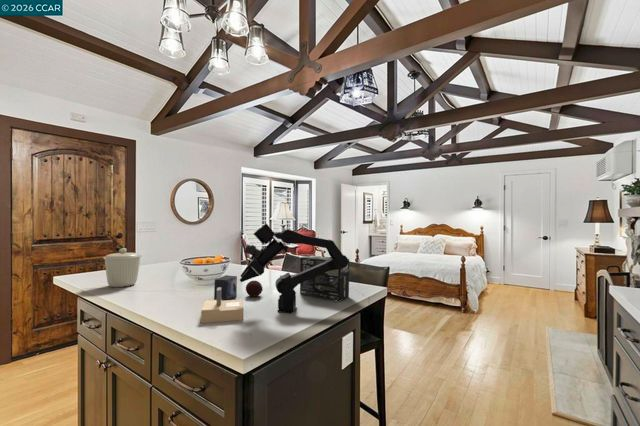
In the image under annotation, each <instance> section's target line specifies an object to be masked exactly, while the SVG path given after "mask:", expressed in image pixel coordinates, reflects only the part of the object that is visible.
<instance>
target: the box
mask: <svg viewBox="0 0 640 426" xmlns="http://www.w3.org/2000/svg"><path fill="white" fill-rule="evenodd" d="M329 257H330V256H320V255H312V254H311V255H306V256H302V257H300V269H299V270H300V272H302V271H304V270H307V269H309V268H311V267H314V266H316V265H318V264H321V263H323V262H325V261H326V260H327V259H328V258H329ZM347 259H348V264H347V266H346V267H345V268H342V269H338V270H331V271H327V272H325V273H323V274H321V275H318V276H316V277H314V278H311V279H309V280H307V281H305V282H302V283H300V284H299V295H302V296H307V297H314V298H320V299H325V300H329V299H331V300H330V301H334V300H337V301H336V302H341V301H343V300H345V299H348V298H349V296H350V293H349V291H350V259H349V258H347ZM300 272H299V273H300ZM342 299H343V300H342ZM340 300H341V301H340Z"/></svg>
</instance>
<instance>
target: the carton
mask: <svg viewBox="0 0 640 426" xmlns="http://www.w3.org/2000/svg"><path fill="white" fill-rule="evenodd" d="M231 321H233V322H234V321H244V300H243V299H232V300H225V301H222V302H221V307H220V310H217V311H203V312H201V311H200V323H201V324H206V323H207V324H208V323H220V322H221V323H222V322H231Z"/></svg>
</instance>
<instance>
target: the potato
mask: <svg viewBox="0 0 640 426" xmlns="http://www.w3.org/2000/svg"><path fill="white" fill-rule="evenodd" d="M245 291H246V293H247V295H248V296H250V297H258V296H260V295H261V294H262V292H263V286H262V284H261V282H260V281H258V280H250V281H249V282H247V284H246V285H245Z"/></svg>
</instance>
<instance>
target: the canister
mask: <svg viewBox="0 0 640 426" xmlns="http://www.w3.org/2000/svg"><path fill="white" fill-rule="evenodd" d="M127 249H128V248H125V247H122V248H120V249H119V250H118V252H115V253H110V254H106V255H105V256H103V257H102V258H103V259H104V266H105V274H106V282H107V284H108V286H109V287H111V288H125V287H124V286H127V287H131V286H134V285H135V284H136V283H137V281H138V275H139V271H140V262H141V257H142V254H140V253H138V252H137V253H136V252H127ZM133 284H134V285H133ZM130 285H131V286H130Z"/></svg>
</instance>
